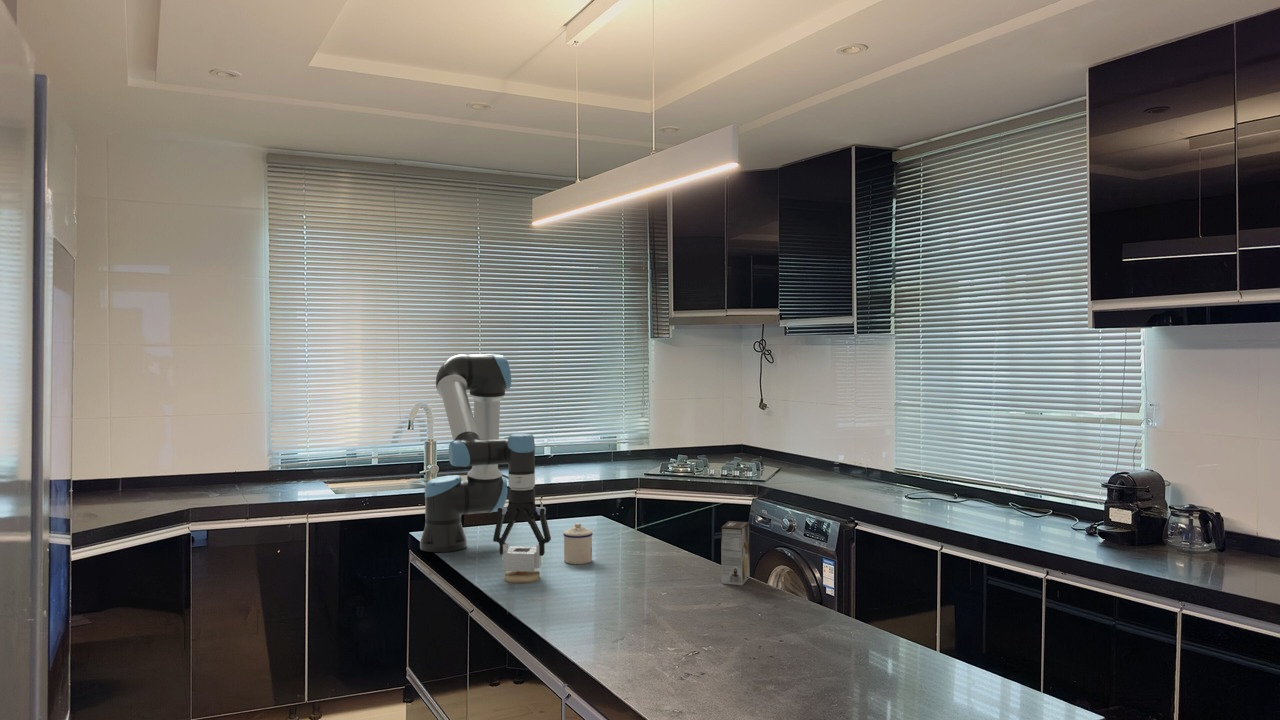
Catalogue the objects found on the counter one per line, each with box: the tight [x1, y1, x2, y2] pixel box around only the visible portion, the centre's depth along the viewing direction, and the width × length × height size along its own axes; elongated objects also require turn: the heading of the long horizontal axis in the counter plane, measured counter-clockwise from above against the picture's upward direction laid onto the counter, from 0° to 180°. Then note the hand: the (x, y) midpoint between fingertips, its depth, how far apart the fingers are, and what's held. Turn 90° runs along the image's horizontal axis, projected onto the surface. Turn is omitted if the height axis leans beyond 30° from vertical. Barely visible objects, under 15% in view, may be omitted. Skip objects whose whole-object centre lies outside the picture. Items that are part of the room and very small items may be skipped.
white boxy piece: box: [502, 545, 538, 572], centre depth 244 cm, size 9×9×5 cm
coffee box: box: [720, 520, 751, 586], centre depth 241 cm, size 9×6×16 cm
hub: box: [504, 569, 541, 584], centre depth 244 cm, size 10×10×6 cm
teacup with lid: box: [562, 522, 593, 565], centre depth 265 cm, size 12×9×12 cm
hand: (522, 566), depth 244 cm, fingers closed on white boxy piece, 9 cm apart
